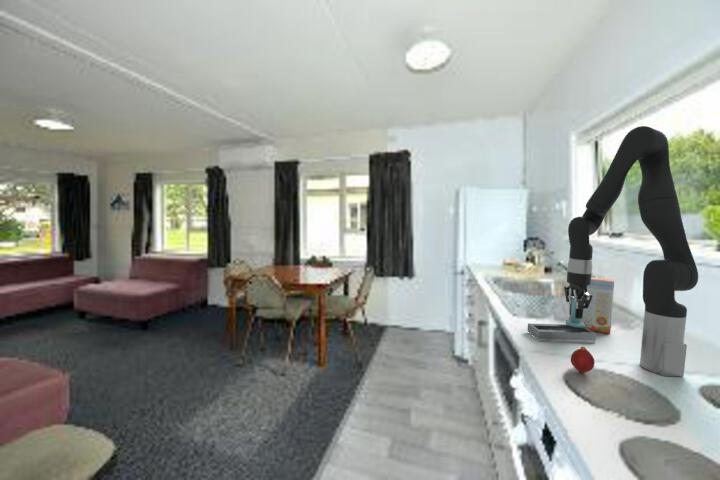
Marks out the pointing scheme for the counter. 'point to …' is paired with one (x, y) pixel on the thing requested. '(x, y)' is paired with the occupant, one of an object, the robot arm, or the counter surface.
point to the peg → (574, 321)
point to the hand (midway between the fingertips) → (575, 316)
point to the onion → (582, 360)
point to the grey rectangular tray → (561, 333)
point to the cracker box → (599, 305)
